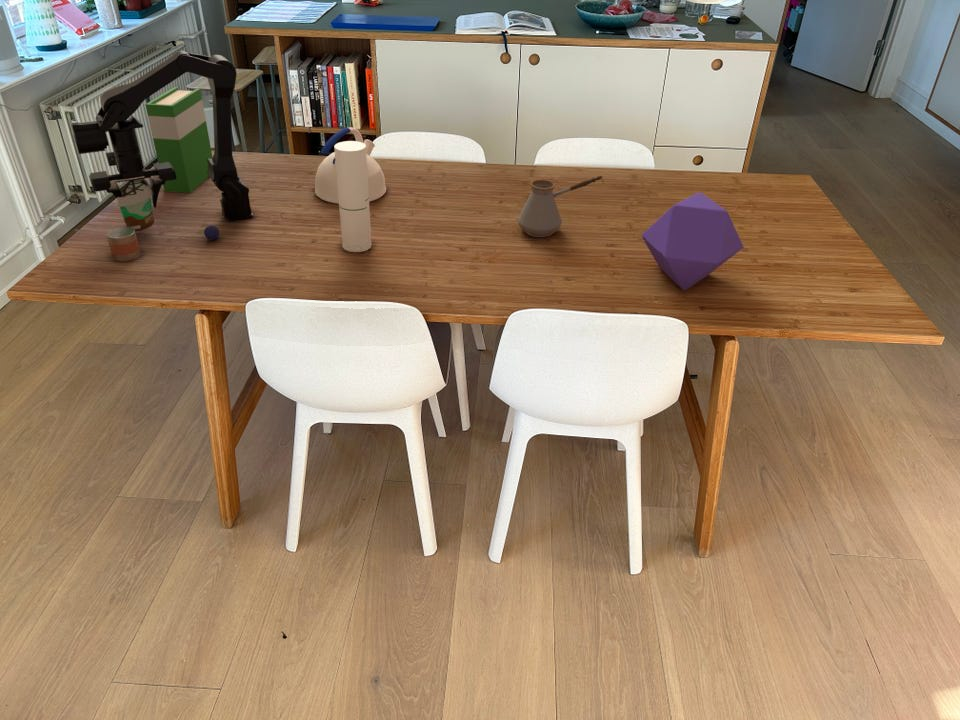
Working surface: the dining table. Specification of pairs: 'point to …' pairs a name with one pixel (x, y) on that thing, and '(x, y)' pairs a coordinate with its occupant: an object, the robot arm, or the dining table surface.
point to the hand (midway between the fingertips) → (141, 209)
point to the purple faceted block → (692, 240)
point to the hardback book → (181, 137)
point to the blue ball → (211, 232)
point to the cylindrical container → (353, 195)
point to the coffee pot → (544, 208)
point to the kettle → (328, 177)
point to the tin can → (123, 244)
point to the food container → (137, 205)
